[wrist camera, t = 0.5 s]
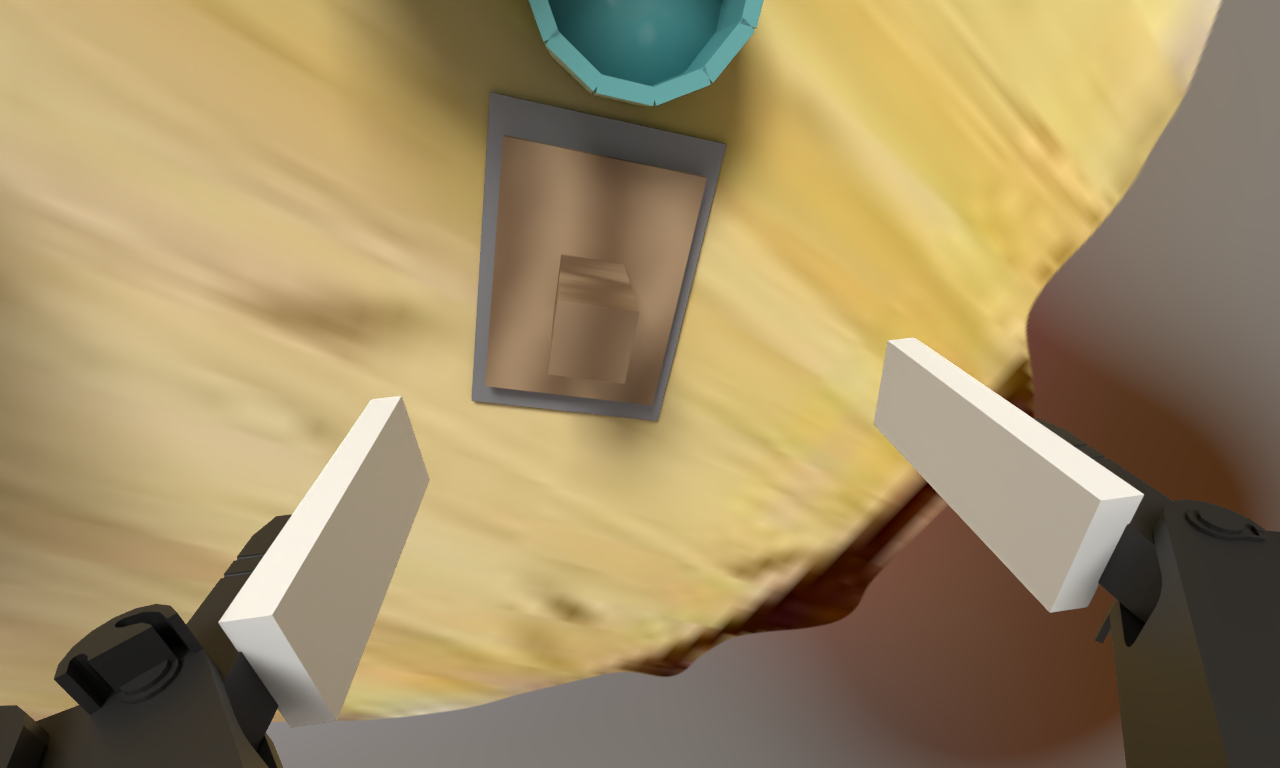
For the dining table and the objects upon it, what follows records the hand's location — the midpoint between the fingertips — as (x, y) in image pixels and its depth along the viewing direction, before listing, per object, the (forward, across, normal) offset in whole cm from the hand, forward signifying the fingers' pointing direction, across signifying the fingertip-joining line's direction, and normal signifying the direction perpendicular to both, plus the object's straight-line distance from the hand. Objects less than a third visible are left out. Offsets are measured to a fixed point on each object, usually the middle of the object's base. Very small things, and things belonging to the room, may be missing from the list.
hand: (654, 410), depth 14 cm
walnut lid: (+22, -2, -3) cm, 22 cm away
